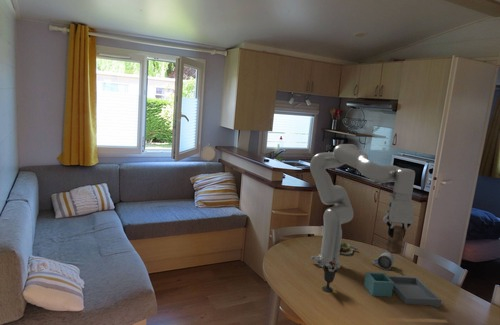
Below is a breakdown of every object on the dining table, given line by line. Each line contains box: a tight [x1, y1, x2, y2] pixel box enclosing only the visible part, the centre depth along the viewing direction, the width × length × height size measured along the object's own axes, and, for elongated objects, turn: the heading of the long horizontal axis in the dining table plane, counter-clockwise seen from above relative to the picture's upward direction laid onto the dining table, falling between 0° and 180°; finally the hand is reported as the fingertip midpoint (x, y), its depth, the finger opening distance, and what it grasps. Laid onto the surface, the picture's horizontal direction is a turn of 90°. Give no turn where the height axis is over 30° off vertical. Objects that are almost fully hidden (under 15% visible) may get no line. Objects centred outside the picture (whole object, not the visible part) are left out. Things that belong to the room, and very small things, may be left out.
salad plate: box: [339, 241, 359, 256], centre depth 205 cm, size 19×18×5 cm
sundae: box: [321, 258, 339, 293], centre depth 157 cm, size 7×7×15 cm
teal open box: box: [363, 271, 394, 297], centre depth 158 cm, size 9×9×8 cm
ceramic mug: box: [371, 252, 395, 271], centre depth 187 cm, size 11×8×8 cm
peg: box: [386, 225, 405, 255], centre depth 155 cm, size 4×4×12 cm
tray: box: [387, 275, 442, 308], centre depth 160 cm, size 16×20×4 cm
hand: (396, 236), depth 155 cm, fingers closed on peg, 4 cm apart
